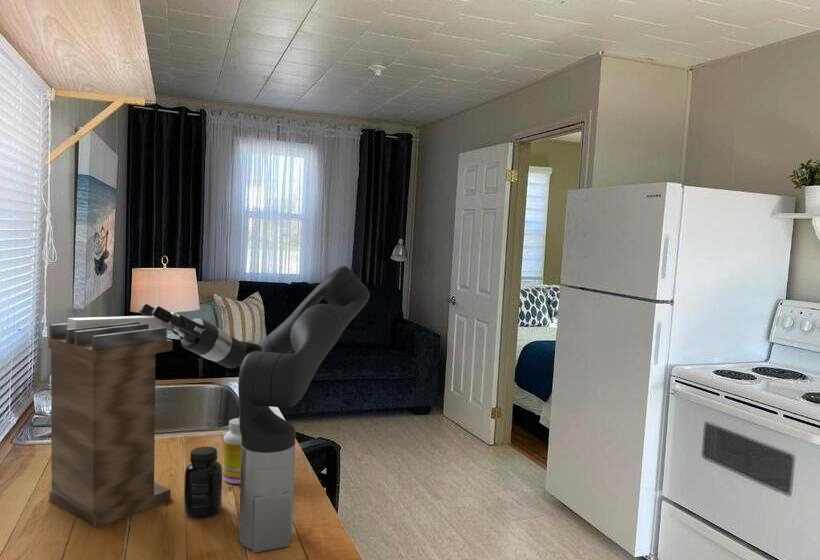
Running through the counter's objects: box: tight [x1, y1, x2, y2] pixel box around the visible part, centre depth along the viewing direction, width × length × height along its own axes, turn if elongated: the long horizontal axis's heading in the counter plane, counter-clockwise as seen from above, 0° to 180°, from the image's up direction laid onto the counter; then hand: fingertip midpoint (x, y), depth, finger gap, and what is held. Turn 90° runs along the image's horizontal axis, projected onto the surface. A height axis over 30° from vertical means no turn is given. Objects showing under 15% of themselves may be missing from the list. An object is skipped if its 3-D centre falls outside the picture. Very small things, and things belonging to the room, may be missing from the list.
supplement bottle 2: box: [222, 417, 242, 485], centre depth 132 cm, size 7×7×13 cm
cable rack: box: [47, 322, 174, 528], centre depth 119 cm, size 15×17×34 cm
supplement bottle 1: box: [183, 446, 223, 520], centre depth 117 cm, size 7×7×12 cm
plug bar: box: [67, 315, 174, 332], centre depth 124 cm, size 21×3×3 cm, turn 145°
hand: (148, 309), depth 128 cm, fingers open, 4 cm apart
